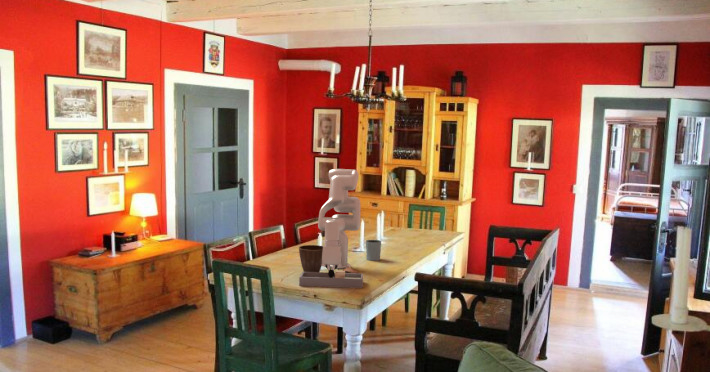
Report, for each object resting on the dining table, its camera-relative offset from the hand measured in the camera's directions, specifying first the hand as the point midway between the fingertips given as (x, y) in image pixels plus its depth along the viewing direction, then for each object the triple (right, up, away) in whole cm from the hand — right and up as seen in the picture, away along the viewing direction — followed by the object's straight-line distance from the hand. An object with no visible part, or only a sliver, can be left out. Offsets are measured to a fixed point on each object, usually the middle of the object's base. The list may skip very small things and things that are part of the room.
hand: (331, 277), depth 299 cm
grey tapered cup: (+24, +1, +61) cm, 66 cm away
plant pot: (-12, -2, +17) cm, 21 cm away
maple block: (+5, -1, 0) cm, 5 cm away
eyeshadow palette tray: (0, -4, 0) cm, 4 cm away
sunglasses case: (+9, -3, +18) cm, 20 cm away
